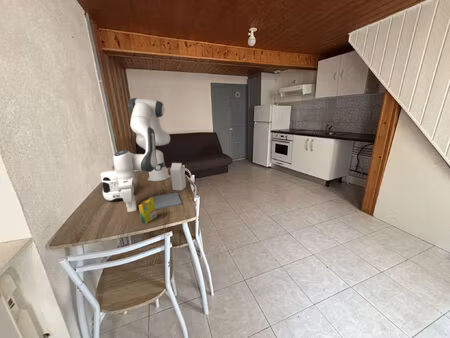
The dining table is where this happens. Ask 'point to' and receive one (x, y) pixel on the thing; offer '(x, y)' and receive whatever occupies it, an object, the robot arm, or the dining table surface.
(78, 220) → the dining table surface
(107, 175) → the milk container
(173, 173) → the milk carton
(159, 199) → the mat
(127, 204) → the cream block
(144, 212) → the crayon box
